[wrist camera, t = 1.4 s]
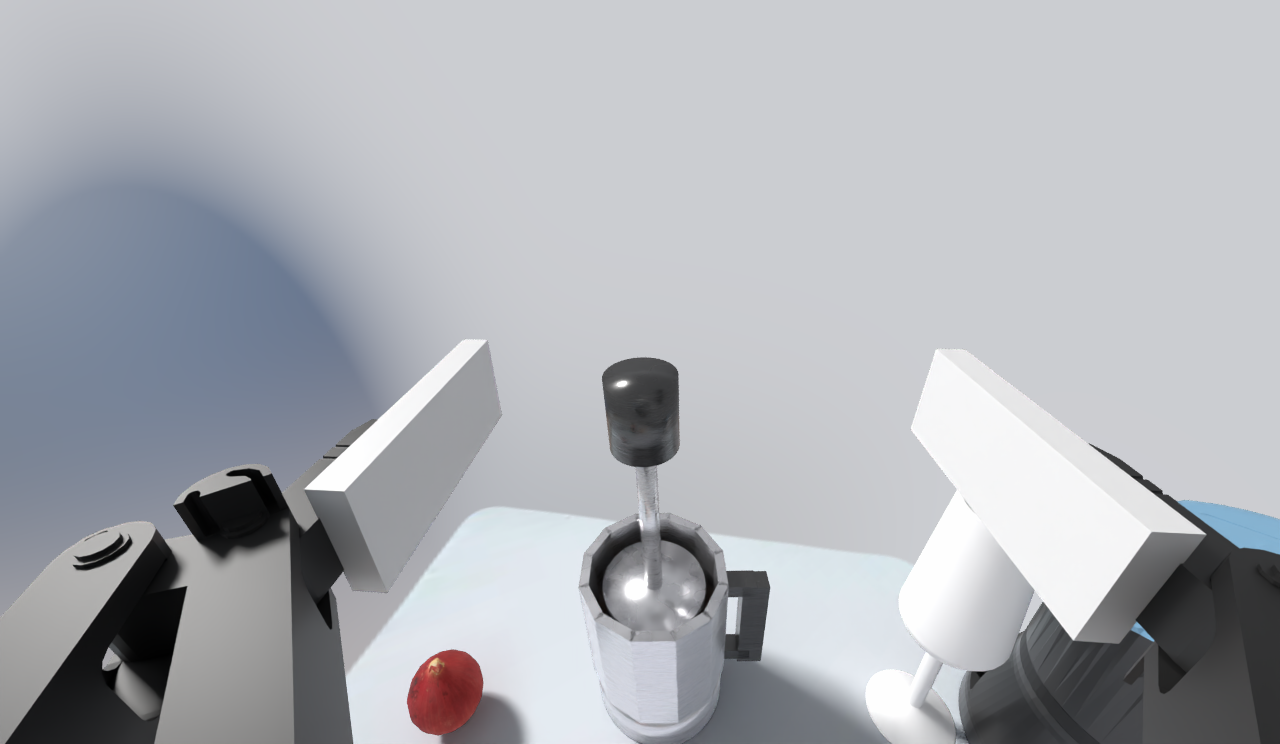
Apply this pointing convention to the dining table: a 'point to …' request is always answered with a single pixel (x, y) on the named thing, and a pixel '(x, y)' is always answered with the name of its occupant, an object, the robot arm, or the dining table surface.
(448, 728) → the onion
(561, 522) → the dining table surface
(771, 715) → the dining table surface
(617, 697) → the press pot
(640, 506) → the plunger
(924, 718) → the champagne flute
